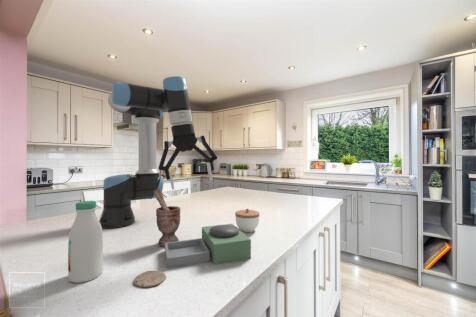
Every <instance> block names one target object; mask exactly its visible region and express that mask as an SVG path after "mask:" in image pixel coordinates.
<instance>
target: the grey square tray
mask: <svg viewBox="0 0 476 317" xmlns="http://www.w3.org/2000/svg"><path fill="white" fill-rule="evenodd" d="M164 254H165V261H166V268H167V269H170V268H176V267H182V266H183V267H184V266H188V265H193V264H194V265H195V264H200V263H206V262H210V261H211V258H210V252H209V250H208V248H207V247H206V245H205V243H204V242H203V240H202V237H201V238H193V239H184V240H183V239H182V240H179V241H175V242H168V243H165V247H164Z"/></svg>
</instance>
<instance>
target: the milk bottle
mask: <svg viewBox="0 0 476 317" xmlns="http://www.w3.org/2000/svg"><path fill="white" fill-rule="evenodd" d="M96 209H97V201H96V200H83V201H78V202H76V203H75V212H76V216H75V218H74V221H73V223H72V225H71V228H70V230H69V233H68V241H67V244H68V246H67V247H68V249H67V251H68V252H67V257H68V259H67V261H68V262H67V264H68V265H67V266H68V267H67V275H68V276H67V277H68V280H69V282H70V283H73V284H78V283H79V284H80V283H85V282H90V281H92V280H94V279H96V278H98V277H100V275H102V273H103V267H104V243H103V242H104V237H103V235H104V234H103V228H102V227H101V224H100V222H99V220H100V219H98V216H97V213H96Z"/></svg>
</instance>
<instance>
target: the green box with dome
mask: <svg viewBox="0 0 476 317" xmlns="http://www.w3.org/2000/svg"><path fill="white" fill-rule="evenodd" d="M201 238H202V240H203V242H204V243H205V245H206V247H207V248H208V250H209V252H210V261H211V262H212V263H213V265H214V266H215V265H219V264H227V263H231V262H237V261H242V260H250V259H252V240H251V238H250V237H249V236H247V235H246V233H245V232H243V231H241V230H240V229H239V228H238V226H237V225H236V226H235V225H234V224H233V223H227V224H217V225H209V226H207V225H205V226H201Z"/></svg>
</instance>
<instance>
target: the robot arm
mask: <svg viewBox="0 0 476 317" xmlns="http://www.w3.org/2000/svg"><path fill="white" fill-rule="evenodd" d="M162 86H163V87H162V89H161V88H156V87H152V86H151V87H150V86H144V85H137V84H133V83H127V82H123V81H122V82H120V81H114V82H113V83H112V84H111V92H110V94H109V95H108V100H107V101H108V104H109V106H110V107H111V109H113V111H115V112H118V113H120V114H122V115H127V116H133V117H134V121H136V122H137V125H138V126H137V127H138V129H137V130H138V170H136V171H135V176H132V175H131V174H130V173H125V174H117V175H112V176H108V177H105V178H104V180H103V187H102V189H103V201H102V202H103V206H102V207H103V209H102V212H101V215H100V218H99V219H98V220H99V222H100V224H101V227H102V229H117V228H123V227H129V226H131V225H133V224H134V223H135V222H136V217H135V214H134V211H133V208H132V201H139V200H140V201H141V200H147V199H148V200H152V199H156V197H155V195H154V190H155V189H160V190H161V192H162V193H163V191H164V182H165V181H164V176H162V175H161V174H160V171H163V172H164V173H165V179H166V181H169V182H170V186H171V190H175V185H174V184H175V183H174V179H173V175H172V169H170V167H171V166H172V165H173V163H174V161H175V160H176V158H177V156H178V155H179V153H180V152H182V153H184V152H188V151H190V152H191V151H192V150H194V151H196V152H197V153H198V154H199V155H201V156H202V158H204V159H205V160H206V161H207V162H206V169H207V175H208V180H209V181H210V182H212V181H214V178H213V171H214V170H215V169H214V161H216V160H218V156H217V155H216V153H215V152H214V150H213V149H212V148H211V147H210V145H209V144H208V142H207V141H206V137H205V135H200V136H196V132H195V128H194V124H193V116H192V110H191V104H190V97H189V92H188V89H189V88H188V85H187V82H186V79H185V78H184V77H183V76H181V75H180V76H179V75H178V76H175V75H174V76H168V77H165V78H164V79H163V80H162ZM164 113H168V118H169V124H170V125H171V127H170V128H171V129H170V130H171V134H172V140H171V141H169V140H168V141H167V140H165V141H164V142H163V143H164V145H163V146H164V148H163V152H162V155H161V158H160V162H159V164H158V166H157V124H158V123H159V122H160V119H161V118H162V117H163V115H164ZM198 141H199V143H201V144H202V146H203V147H204V148H205V149H206V151H207V152H208V154H209V155H210V156H209V155H208V154H206V152H205V151H203V150H202V149H201V148H200V147H199V146H198V145H196V144H197V142H198ZM172 145H173V146H174V147H175V149H174V151H173V152H172V154H171V156H170V158H169V159H168V162H167V163H166V164H165V162H166V159H167V155H168V152H169V148H171V146H172ZM157 167H158V169H157Z"/></svg>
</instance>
